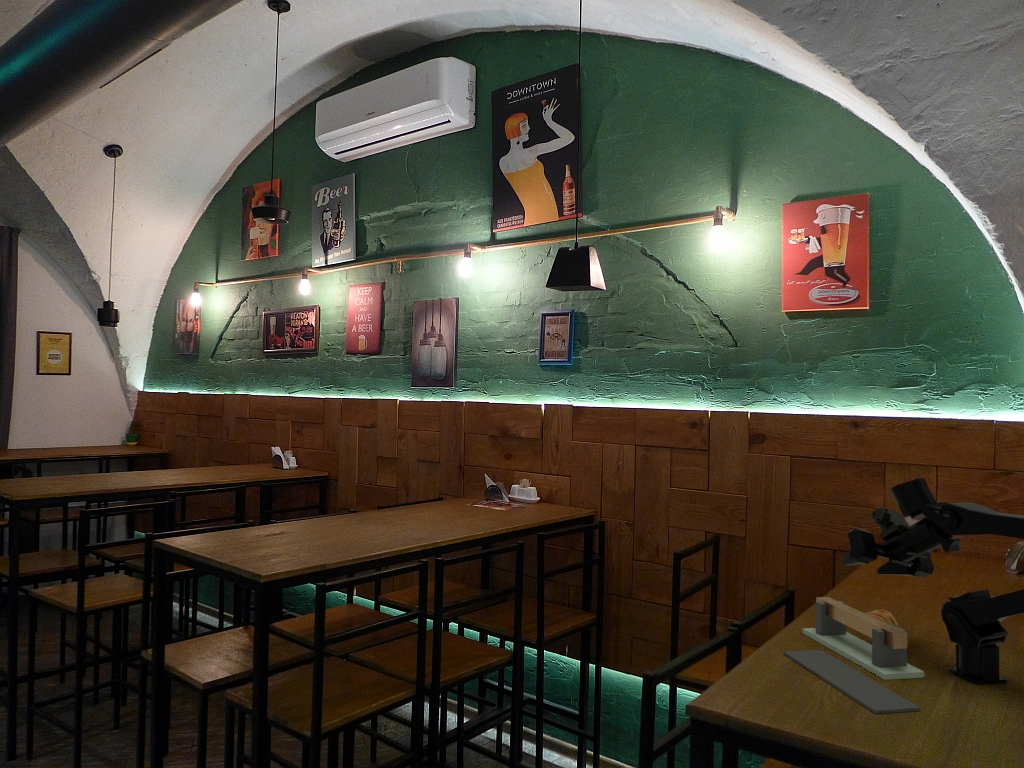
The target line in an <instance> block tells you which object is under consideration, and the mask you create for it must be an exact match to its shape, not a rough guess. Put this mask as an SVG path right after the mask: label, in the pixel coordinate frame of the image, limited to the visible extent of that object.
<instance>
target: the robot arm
mask: <svg viewBox="0 0 1024 768" xmlns="http://www.w3.org/2000/svg"><path fill="white" fill-rule="evenodd" d="M889 490H890V493H891V495H892V497H893V499H894V501H895V502H896V504H897V506H898V508H899V510H900V511H901V512H899V511H897V510H893V509H890V508H888V507H878V508H875V509H874V510H873V511H872V513H871V519H872V520H873V522H874V523H875V524H876V525H878V526H879V528H880V529H881V530H882V531H881V532H880V533H879V535H880V538H881V539H882V540H883V541H882V544H880V543H877V542H876V540H875V535H874V533H873V532H871V531H869V530H865V529H862V528H858V527H854V528H852V529H851V530H849V531H848V532H847V536H848V540H849V545H850V549H849V550H848V551H847V553H846V554H845V556H844V557H843V559H841V560H842V561H841V562H842V566H858V565H860V566H861V565H869V563H873V562H875V561H876V560H877V559H878V557H879V558H883V559H886V560H887V559H888V561H887V562H885V563H883V564H882V565H881V566H879V567H878V568H876V572H877V574H878V575H884V576H900V577H901V576H902V577H904V576H905V577H914V578H918V577H921V578H927V577H929V576H932V575H933V573H934V570H935V567H934V563H933V560H932V556H931V557H930V554H929V552H930V551H931V552H932V551H933V550H935V549H939V548H940V547H942V549H943V551H944V552H945V553H947V554H948V553H953V552H959V551H960V542H961V538H958V537H957V536H967V535H968V536H970V535H971V536H973V535H996V536H1003V537H1009V538H1015V539H1023V540H1024V514H1023V515H1022V514H1016V513H1015V514H1014V513H1006V512H1001V511H998V510H995V509H993V508H990V507H988V506H986V505H982V504H978V503H975V502H970V501H968V502H967V501H966V502H965V501H964V502H953V503H952V502H948V501H941V502H937V500H936V498H935V496H934V494H933V493H932V490H931V489H930V487H929V484H928V482H927V480H926V478H924V477H916V478H914V479H912V480H908V481H905V482H902V483H899V484H896V485H894V486H893V487H891V488H890V489H889ZM901 513H902V514H901ZM905 517H911V519H912V520H917V521H918V520H920V521H918V522H916V523H914V524H912V525H910V526H909V524H908V523H907V522H906V520H905ZM947 599H948V600H949V601H946V602H944V603H943V604H942V608H941V613H940V614H941V619H942V621H943V623H944V625H945V627H946V631H947V633H948V636H949V640H950V642H952V643H955V666H954V667H953V666H952V667H949V672H951V673H954V674H956V675H957V676H960V677H962V678H964V679H966V680H968V681H970V682H972V683H975V684H993V683H994V684H995V683H1006V682H1008V678H1006V677H1004V676H1002V675H1000V646H998V645H997V644H1004V643H1005V642H1006V640H1007V639H1008V636H1009V632H1008V631H1007V630H1006V628H1005V627H1004V626H1003V624H1001V623H1002V621H1004V620H1005V619H1007V618H1009V617H1012V616H1018V615H1022V614H1024V589H1020V590H1016V591H1013V592H1007V593H1005V594H1004V593H1003V594H1000V595H997V596H995V595H994V596H993V595H991V593H990V590H989V588H986V589H981V590H980V589H979V590H974V591H968V592H965V593H962V594H959V595H953V596H949V597H948V598H947Z"/></svg>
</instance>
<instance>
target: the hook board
mask: <svg viewBox="0 0 1024 768" xmlns="http://www.w3.org/2000/svg"><path fill="white" fill-rule="evenodd" d="M838 601H839V602H841V603H843V604H845V605H847V602H844V601H842V600H838ZM896 628H898V629H900V630H903V631H905V632H907V633H908V631H907V629H904V628H901V627H899V626H897V627H896ZM802 634H803V635H805V636H807V637H809V638H811V640H813V641H815V642H817V643H818V644H821V645H823V646H825V647H826V648H828V649H830V650H831V651H833V652H835V653H837V654H838V655H840V656H842V657H843V656H844V657H843V658H845V659H847V660H849V661H850V660H851V662H852V663H854V664H856V665H857V664H858V666H859V665H860V666H859V667H861V666H862V668H863V669H864V668H865V670H866V669H867V671H868V672H870V673H871V672H872V674H873V673H874V674H873V675H875V674H876V675H875V676H877V677H878V676H879V678H880V679H882V680H884V681H888V680H904V679H905V680H906V679H924V678H925V671H923V670H922V669H920V668H917V667H916V666H914V665H912V664H910V663H908V656H907V655H908V653H907V652H908V651H907V649H908V648H905V649H893V648H891V647H889V646H887V645H885V644H884V631H882V630H880V629H878V628H872V638H871V643H869V642H866V641H865V640H863V639H861V638H859V637H857V636H855V635H853V634H851V633H849V632H847V626H846V625H844V624H842V623H840V622H838V621H836V620H834V619H832V618H830V617H828V616H826V604H825V603H822V602H820V601H818V602H816V601H815V627H806V628H805V627H804V628H802ZM923 677H924V678H923Z"/></svg>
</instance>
